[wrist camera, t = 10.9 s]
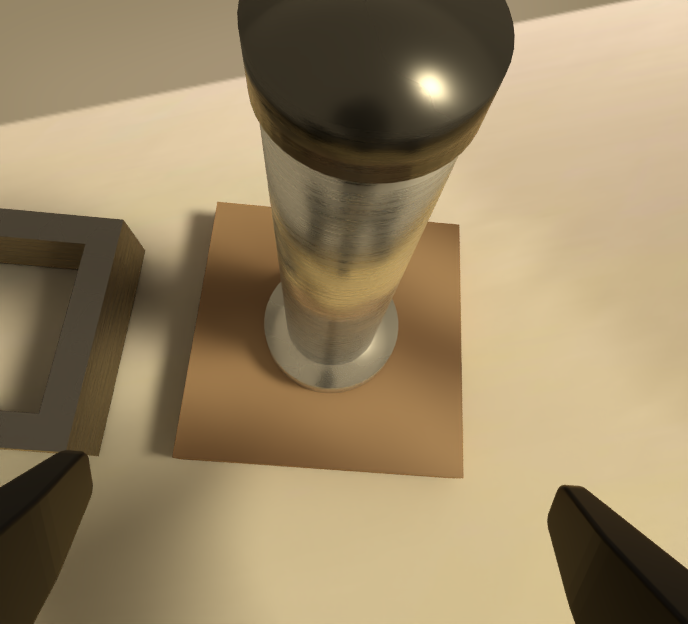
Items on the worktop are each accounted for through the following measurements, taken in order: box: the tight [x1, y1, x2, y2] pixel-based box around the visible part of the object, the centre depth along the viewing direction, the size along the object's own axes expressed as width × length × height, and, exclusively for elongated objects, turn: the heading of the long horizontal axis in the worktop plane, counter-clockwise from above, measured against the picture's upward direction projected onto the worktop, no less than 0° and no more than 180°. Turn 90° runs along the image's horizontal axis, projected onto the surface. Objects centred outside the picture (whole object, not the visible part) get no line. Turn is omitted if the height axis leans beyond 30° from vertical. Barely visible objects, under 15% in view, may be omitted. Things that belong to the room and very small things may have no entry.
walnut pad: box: [172, 202, 463, 478], centre depth 19 cm, size 10×10×1 cm
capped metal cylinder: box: [237, 0, 515, 393], centre depth 12 cm, size 5×5×13 cm
